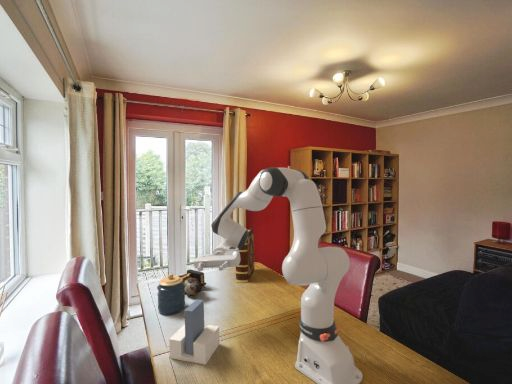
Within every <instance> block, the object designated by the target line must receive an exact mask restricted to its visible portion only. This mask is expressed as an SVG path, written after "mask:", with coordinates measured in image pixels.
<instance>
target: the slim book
mask: <svg viewBox="0 0 512 384" xmlns="http://www.w3.org/2000/svg"><path fill="white" fill-rule="evenodd" d="M204 303H205V302H204V299H195V300H194V301H193V302H192V303H191V304H189V306H188V307H185V308H184V309H183V310H184V311H183V312H184V324H185V342H186V354H189V355H194V351H193V343H194V342H195V340H196V339H197V338H198V337H199V336H200V334H201V333H202V332H203V331H204V330H205V328H206V327H205V304H204Z"/></svg>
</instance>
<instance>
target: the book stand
mask: <svg viewBox="0 0 512 384" xmlns="http://www.w3.org/2000/svg"><path fill="white" fill-rule="evenodd" d="M204 328H205V330H204V331H203V332H202V333H201V334H200V336H199V337H198V338H197V339H196V340H195V342H194V343H193V351H194V355H189V354H186V342H185V323H184V324H183V325H182V326H181V327H180V328H179V329H178V330H177V331H175V333H174V334H173V335H172V336H171V337H170V338H169V359H174V360H179V361H184V362H189V363H194V364H200V365H205V366H206V365H207V363H208V362H209V361H210V359H211V357H212V356H213V354H214V353H215V351H217V349H218V347H219V346H220V343H221V342H220V326H219V325H214V324H213V325H212V324H208V325H207V326H206V327H204Z"/></svg>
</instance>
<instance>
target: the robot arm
mask: <svg viewBox="0 0 512 384" xmlns="http://www.w3.org/2000/svg"><path fill="white" fill-rule="evenodd" d="M274 197H280V198H281V197H285V198H287V199H288V201H289V203H290V212H291V217H292V224H293V240H292V245H291V248H290V250H289V252H288V254H287V255H286V256H285V257H284V259H283V261H282V264H281V265H282V266H281V271H282V276H283V277H284V279H285V280H286V282H287V283H288V284H289V285H291V286H308V287H307V288H306V290H305V291H303V293H302V295H301V298H300V317H299V331H300V335H299V338H298V347H297V354H296V361H295V365H294V368H295V369H296V370H297V371H298V372H300V373H301V374H303V375H304V376H305V377H307V378H308V379H310V380H312V381H313V382H314V383H316V384H360V383H361V382H362V380H363V373H362V371H361V370H360V369H359V368H358V367H357V366H356V365H355V360H354V356H353V354H352V353H351V350H350V347H349V345H346V344H345V343H344V341H343V340H342V339H341V337H340V336H339V333H341V331H340V330H341V328H337V325H336V321H335V319H334V317H335V315H334V312H335V298H336V294H337V291H338V288H339V286H340V283H341V281H342V279H343V277H344V276H345V275H346V273H348V271H349V269H350V267H351V266H350V264H351V261H350V258H349V257H350V256H349V255H348V253H347V252H346V251H345V250H344V248H341V247H338V246H325V247H319V241H320V238H321V237H322V235H323V236H324V233H326V231H327V230H326V229H327V224H326V219H325V212H324V208H323V204H322V200H321V196H320V192H319V189H318V187H317V185H316V183H315V182H314V181H313V180H312V179H310V178H309V175H308V174H307V173H306V172H304V171H302V170H300V169H299V170H298V169H293V168H288V167H275V166H271V167H267V168H265V169H261V170H260V171H259V172H258V173H257V175H256V176H255V177H254V178H253V179H252V181H251V183H250V185H249V186H248V188H247V189H246V190H245V191H238V192H237V193H236V194H235V195H234V196H233V197H232V199H230V201H229V202H228V203H227V204H226V206H225V207H224V208H223V209H222V210H221V212H220V213H219V214H217V216H216V217H215V218H214V219H213V220H212V222H211V231H212V232H213V233H214V234H215V235H217V236H220V237H222V239H223V240H222V241H221V242H220V243H219V244H218V245H217V246H216V247H215V248H214V249H213V250H212V253H208V254H207V253H206V254H201V255H199V256H198V257H196V258H194V259H193V267H194V269H197V271H199V272H202V271H203V270H204V269H215V268H217V269H218V271H223V270H225V269H227V268H236V266H238V265H239V263H240V261H241V259H240V252H239V250H241V249H242V247H243V246H244V245H245V243H246V242H247V240H248V237H249V233H248V230H249V229H247V228H246V227H244V226H243V225H242V224H240V223H238V222H237V221H236V220H234V219H232V218H231V217H230V215H231V214H232V213H233V212H234V211H235V210H236V209H243V210H247V211H252V212H260V211H262V210H264V209H266V208H267V206H269V204H270V203H271V201H272V199H273V198H274Z"/></svg>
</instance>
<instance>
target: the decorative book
mask: <svg viewBox="0 0 512 384" xmlns="http://www.w3.org/2000/svg"><path fill="white" fill-rule="evenodd" d="M247 230H248V233H249V237H248V240H247V242H246V243H245V245H244V246H243V247H242V249H241V250H239V252H240V259H241V261H240V263H239V265H238V266H236V267H235V270H234V271H235V272H234V273H235V283H239V284H245V283H249V281H250V279H251V277H252V276H253V274H254V272H255V233H254V232H255V231H254V228H253V227H252V228H251V229H247Z"/></svg>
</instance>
